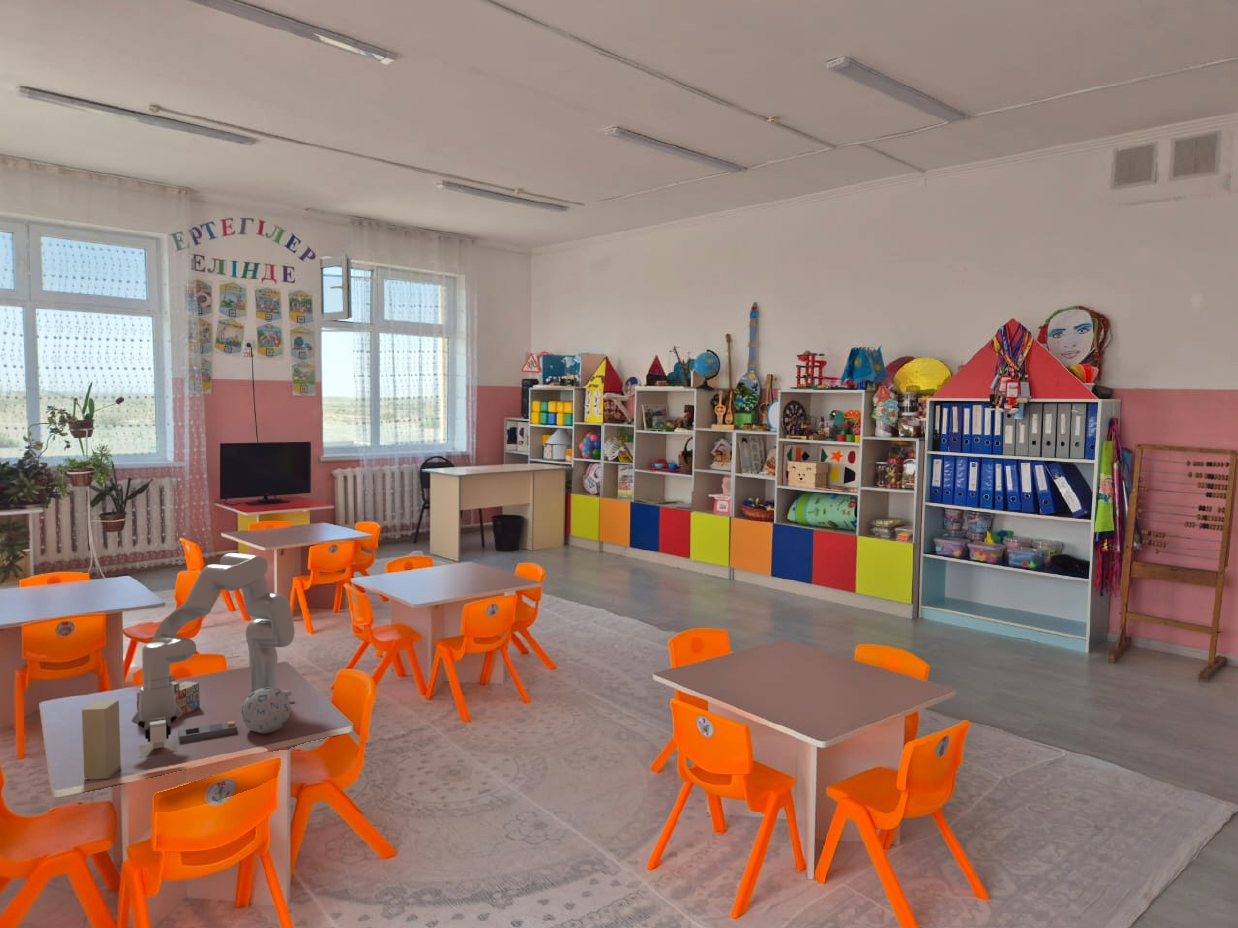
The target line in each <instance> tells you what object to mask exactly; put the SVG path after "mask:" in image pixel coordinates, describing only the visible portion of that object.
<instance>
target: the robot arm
mask: <svg viewBox="0 0 1238 928" xmlns="http://www.w3.org/2000/svg"><path fill="white" fill-rule="evenodd" d="M268 568H269V564H268V561H267V559H266V558H265V557H264V556H262V555H259V554H250V553H249V554H248V553H239V552H229V553H225V554H223V556H221V557H220V560H219V564H217V563H215V564H207V565H206V566H204V567H203V568H202V570H201V571H200V573H199V575H198V577H197V578H196V581H195V582H194V584H193V585H192V586H193V587H192V588H191V589H190V591H189V594H188V596H187V598H186V600H185V601H184V602H183V604H182V605H180V606H179V607H177V608H176V609H175V610H174V611H173V610H172V612H171V613H170V614H168V616H166V617H165V618H164V619H163V620H162V622H161V623H160V624H159V625H158V628H157V629H156V631H155V633H154V635H153V637H152V639H151V642H150V643H147V644H145V645H144V646H143V647H142V651H141V656H142V658H141V659H142V686H141V687H140V690H139V691H140V694H139V710H138V711H137V710H136V711H137V712H136V713H135V714H134V716H133V717H132V718H131V723H133V724H135V725H137V726H139V727H140V728H142V729H143V730H144V733H145V735H144V736H145V737H144V739H145V740H147V743H150V725H149V723H150V720H153V719H160V718H166V740H169V736H170V735H172V724H173V723H175V721H177V719H179V718H180V717H181V716H183V715H184V714H183V711H182V710H181V709H180V708H179V707H178V706H177V705H176V703H175V692H174V686H173V683H170V682H176V676H172V675H171V664H175V663H180V662H185V661H188V660H190V659H192V657H193V656H194V655H195V653H196V651H197V644H196V643H195V641H194V640H193V639H191V638H189V637H183V636H176V634H178V633H179V631H180V630H181V629H182V628H183V627H184V626H185V625H187V624H188V623H190V622H193V621H195V620H198V619H201V618H203V617H206V616H208V615H210V613H211V612H212V611H213V610H212V609H213V607H214V605H215V603H216V601H217V600H218V598H219V596H220V593H221V592H222V591H227V592H234V591H238V590H241V591H242V597H243V603H244V607H245V612H246V614H247V615H248V616H249V617H251V618H254V619H253V620H252V621H250V622H249V623H248V624H247V626H246V629H245V639H246V644H247V647H248V657H249V661H248V663H249V696H250V695H251V694H252V693H253V692H254V691H256V690H258V689H261V688H265V687H272V688H277V689H279V687H278V686H279V684H278V683H279V681H278V679H279V676H278V672H279V670H278V661H279V660H278V653H277V649H276V648H287V647H289V646H290V645H291V644H292V642H293V641H294V639H295V633H296V631H295V624H294V618H293V614H292V613H293V612H292V607H291V604H290V600H289V599H288V598H287V596H285V594H281V593H279V592H278V593H277V592H271V591H270V590H269V588H268V583H267V580H266V577H265V575H266V573H267V572H268ZM280 690H281V689H280ZM281 691H282V692H283V693H285V694H286V695H287V697H290V696H292V690H291V689H290V690H287V688H286V689H283V690H281ZM175 712H177V713H176V714H175ZM182 714H183V715H182ZM171 716H172V717H171ZM170 717H171V718H170ZM138 718H140V720H139V719H138ZM142 720H143V721H145V722H143V721H142Z"/></svg>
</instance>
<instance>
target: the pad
mask: <svg viewBox="0 0 1238 928" xmlns="http://www.w3.org/2000/svg"><path fill="white" fill-rule="evenodd" d="M174 752H178V750H177V742H176V740H175V739H174V740H166V741H165V742H164V747H161V748H155V749H153V744H150V743H149V744H145V745H140V746H139V759H140V758H145V757H146V758H147V757H152V756H156V755H157V756H158V755H163V754H169V753H174Z"/></svg>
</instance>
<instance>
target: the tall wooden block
mask: <svg viewBox="0 0 1238 928" xmlns="http://www.w3.org/2000/svg"><path fill="white" fill-rule="evenodd" d="M81 720H82V721H81V723H82V749H83V776H84V777H83V779H84V778H85V779H84V780H87V779H90V780H108V779H109V778H111V777H112V776H113V775H114V774H115V773H117V772H118V771H119V770H120V769H121V767H122V763H121V761H122V759H121V733H120V731H121V730H120V728H121V727H120V702H119V700H118V699H115V700H112V699H111V700H109V699H108V700H95V701H94V702H91V704H89V705H87V706H86V707H85V708H83V709H82V710H81ZM111 775H112V776H111ZM86 778H87V779H86Z"/></svg>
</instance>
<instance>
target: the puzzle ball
mask: <svg viewBox="0 0 1238 928" xmlns="http://www.w3.org/2000/svg"><path fill="white" fill-rule="evenodd" d="M290 713H291V701H290V699H289V696H287V695H286V694H285V693H283V692H282V691H281V689H279V688H278V689H277V688H272V687H265V688H261V689H258V690H256V691H254V692H253V693H252V694H251V695H250V694H249V696H248V697H246V699H245V700H244V702H243V705H242V707H241V717H242V721H243V723H244V724H245V726H246V728H248V729H249V730H250V731H252V732H255V733H259V734H262V735H266V734H270V733H275V732H276V731H278V730H279V729H281V728H282V727H283V726H284V725H285V724H286V722H287V721H288V719H289V717H290Z"/></svg>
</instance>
